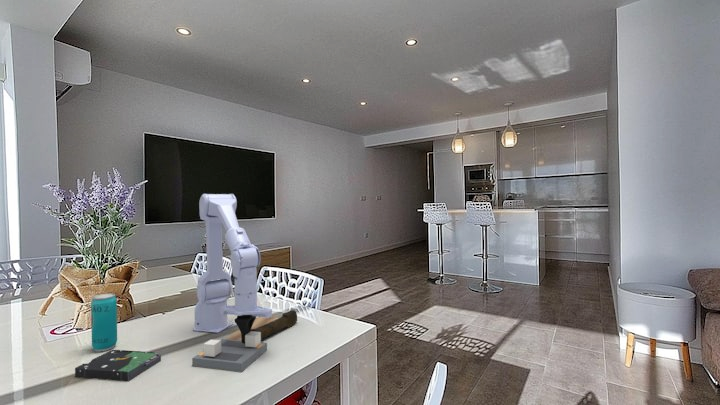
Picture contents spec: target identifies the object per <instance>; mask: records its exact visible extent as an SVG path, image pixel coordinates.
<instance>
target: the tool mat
mask: <svg viewBox="0 0 720 405" xmlns="http://www.w3.org/2000/svg"><path fill="white" fill-rule="evenodd" d="M279 318H280V317H275V316H274V317H273V316H271V317H270V318H265V317H256V319H255V321H254V323H253V325H252V328H251V329H256V328H258V327H261V326H263V325H265V324H268V323H270V322H272V321H274V320H276V319H279ZM224 339H232V340H241V332H240V329H239V328H238V329H237V330H235V331H234V332H232V333H231V334H229V335H227V337H225V338H224Z"/></svg>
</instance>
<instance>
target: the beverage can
mask: <svg viewBox="0 0 720 405" xmlns="http://www.w3.org/2000/svg"><path fill="white" fill-rule="evenodd" d="M91 298H92V300H91V303H90V308H91V309H90V315H91V317H90V320H91V347H92V348H93V350H94V352H95V353H101V351H103V352H108V351H111V350H113V349H114V348H115V347H116V344H117V342H118V307H117V306H118V304H117V302H118V301H117V297H116V294H115V293H112V292H111V293H102V294H97V295H94V296H92V297H91ZM107 350H108V351H107Z"/></svg>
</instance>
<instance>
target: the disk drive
mask: <svg viewBox="0 0 720 405" xmlns="http://www.w3.org/2000/svg"><path fill="white" fill-rule="evenodd" d="M160 362H162V355H161V354H160V353H158V352H155V351H141V350H137V351H136V350H125V349H124V350H123V349H110V350H108V351H106V352H105V353H103V354H101V355H99V356H96V357H95V358H92V359H91V360H90V361H89V362H88V363H82V364H80V365H78V366H76V367H75V368H74V376H75V378H80V377H83V378H82V379H93V378H98V379H97V380H106V379H108V381H109V380H110V381H117V382H118V381H119V382H130V381H132V380H134V379H135V378H137V377H138V376H140V375H141V374H143V373H144V372H146V371H147V370H149V369H151V368H152V367H153V366H156V364H159V363H160Z"/></svg>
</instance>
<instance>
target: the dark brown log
mask: <svg viewBox="0 0 720 405" xmlns="http://www.w3.org/2000/svg"><path fill="white" fill-rule="evenodd" d="M278 318H279V319H276V320H274V321H272V322H270V323H268V324H265V325H263V326H261V327H258V328H256V329H251V331H254V332H261V341H263V339H264V338H266V337H269V336H271V335H272V334H274V333H276V332H279V331H280V330H282V329H284V328H285V329H289V328H291V327H292V326H293V325H296V323H297V322H298V313H297V311H296V310H295V309H293V310H289V311H286V312H284V313H282V316H280V317H278Z"/></svg>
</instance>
